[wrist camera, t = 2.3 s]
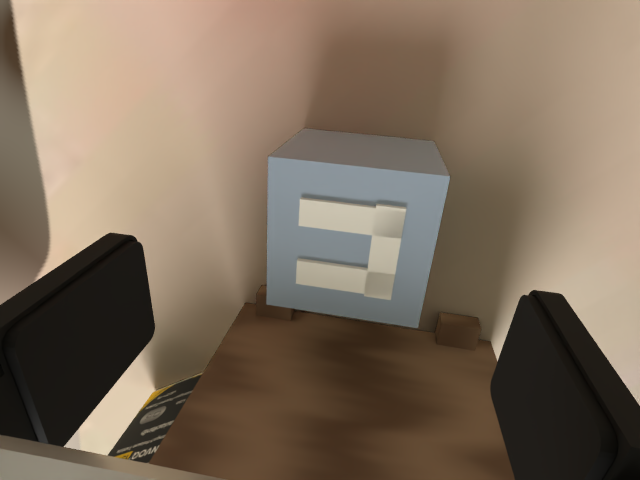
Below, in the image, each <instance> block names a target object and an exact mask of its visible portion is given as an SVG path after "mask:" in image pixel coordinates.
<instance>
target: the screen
mask: <svg viewBox="0 0 640 480" xmlns="http://www.w3.org/2000/svg"><path fill="white" fill-rule="evenodd" d="M266 300H267V286H264V285H262V286H261V287H260V289H259V291H258V293H257V294H256V304H250V303H245V304H244V306H243V308H242V309H241V311H240V313H239V314H238V316H237V318H236V319H235V321H234V322H233V324H232V326H231V327H230V329H229V331H228V332H227V334H226V336H225V337H224V339H223V341H222V342H221V344H220V346H219V347H218V349H217V351H216V352H215V354H214V356H213V357H212V359H211V361H210V362H209V364H208V366H207V367H206V369H205V371H204V372H203V374H202V376H201V377H200V379H199V381H198V382H197V384H196V385H195V387H194V389H193V390H192V392H191V394H190V395H189V397H188V399H187V400H186V402H185V404H184V405H183V407H182V409H181V410H180V412H179V414H178V415H177V417H176V419H175V420H174V422H173V424H172V425H171V427H170V429H169V430H168V432H167V434H166V435H165V437H164V439H163V440H162V442H161V444H160V445H159V447H158V449H157V450H156V452H155V453H154V455H153V457H152V458H151V460H150V462H149V463H148V464H152V465H157V466H162V467H167V468H172V469H177V470H182V471H187V472H192V473H197V474H201V475H206V476H211V477H216V478H221V479H226V480H515V478H514V474H513V471H512V467H511V464H510V460H509V457H508V454H507V450H506V447H505V443H504V440H503V436H502V433H501V429H500V426H499V422H498V419H497V415H496V412H495V408H494V405H493V402H492V398H491V393H490V384H491V379H492V376H493V374H494V371H495V368H496V365H497V359H496V356H495V353H494V350H493V347H492V344H491V342H489V341H483V340H479V336H480V333H481V330H482V329H481V326H480V323H479V320H478V318H475V317H468V316H461V315H455V314H448V313H442V312H440V314H439V318H438V322H437V326H436V330H435V333H433V332H426V331H420V330H414V329H407V328H401V327H395V326H388V325H382V324H376V323H369V322H363V321H357V320H351V319H344V318H338V317H332V316H325V315H319V314H313V313H306V312H300V311H295V309H292V308H286V307H280V306H273V305H267V304H266Z"/></svg>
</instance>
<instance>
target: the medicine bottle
mask: <svg viewBox="0 0 640 480" xmlns="http://www.w3.org/2000/svg"><path fill="white" fill-rule="evenodd" d="M202 374H203V373H200V374H197V375H195V376H192V377H190V378H187V379H185V380H182V381H179V382H177V383H174V384H172V385H169V386H166V387H164V388H161V389H159V390H156V391H155V392H153V393H152V394H151V396H150V397H149V399H148V400H147V401H146V403H145V404H144V406H143V407H142V408H141V410H140V411H139V412H138V414H137V415H136V417H135V418H134V419H133V421H132V422H131V424H130V425H129V426H128V428H127V429H126V431H125V432H124V433H123V435H122V436H121V438H120V439H119V440H118V442H117V443H116V445H115V446H114V447H113V449H112V450H111V451H110V453H109V454H108V456H112V457H117V458H122V459H127V460H132V461H137V462H142V463H147V464H148V463H149V462H150V460H151V458H152V457H153V455H154V453H155V452H156V450H157V449H158V447H159V445H160V444H161V442H162V440H163V439H164V437H165V435H166V434H167V432H168V430H169V429H170V427H171V425H172V424H173V422H174V420H175V419H176V417H177V415H178V414H179V412H180V410H181V409H182V407H183V405H184V404H185V402H186V400H187V399H188V397H189V395H190V394H191V392H192V390H193V389H194V387H195V385H196V384H197V382H198V381H199V379H200V377H201V376H202Z"/></svg>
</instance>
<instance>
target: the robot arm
mask: <svg viewBox="0 0 640 480" xmlns="http://www.w3.org/2000/svg"><path fill="white" fill-rule="evenodd" d="M154 331H155V323H154V316H153V310H152V303H151V297H150V290H149V284H148V277H147V271H146V264H145V257H144V251H143V246H142V244H141V243H140V242H137V239H136V238H135V237H134V236H132V235H124V234H117V233H109V234H106V235H105V236H103V237H102V238H100V239H99V240H97V241H96V242H94V243H93V244H91V245H90V246H88V247H87V248H85V249H84V250H82V251H81V252H79V253H78V254H76V255H75V256H73V257H72V258H70V259H69V260H67V261H66V262H64V263H63V264H61V265H60V266H58V267H57V268H55V269H54V270H52V271H51V272H49V273H48V274H46V275H45V276H43V277H42V278H40V279H39V280H37V281H36V282H34V283H33V284H31V285H30V286H28V287H27V288H25V289H24V290H22V291H21V292H19V293H18V294H16V295H15V296H13V297H12V298H10V299H9V300H7V301H6V302H4V303H3V304H1V305H0V480H226V479H221V478H216V477H211V476H206V475H201V474H197V473H192V472H187V471H182V470H177V469H172V468H167V467H162V466H157V465H152V464H147V463H142V462H137V461H132V460H127V459H122V458H117V457H112V456H106V455H101V454H96V453H91V452H86V451H81V450H76V449H71V448H66V447H64V445H65V444H66V443H67V442H68V441H69V440H70V438H71V437H72V436H73V435H74V433H75V432H76V431H77V430H78V429H79V427H80V426H81V425H82V424H83V422H84V421H85V420H86V419H87V417H88V416H89V415H90V414H91V413H92V411H93V410H94V409H95V408H96V406H97V405H98V404H99V403H100V402H101V400H102V399H103V398H104V397H105V395H106V394H107V393H108V392H109V390H110V389H111V388H112V387H113V386H114V384H115V383H116V382H117V381H118V379H119V378H120V377H121V376H122V374H123V373H124V372H125V371H126V370H127V368H128V367H129V366H130V365H131V363H132V362H133V361H134V360H135V359H136V357H137V356H138V355H139V354H140V352H141V351H142V350H143V349H144V347H145V346H146V345H147V344H148V343H149V341H150V340H151V339H152V337H153V334H154ZM490 393H491V398H492V402H493V405H494V408H495V412H496V415H497V419H498V422H499V426H500V429H501V433H502V436H503V440H504V443H505V447H506V450H507V454H508V457H509V460H510V464H511V467H512V471H513V474H514V478H515V480H640V406H639V404H638V403H637V401H636V400H635V398H634V397H633V396H632V394H631V393H630V391H629V390H628V388H627V387H626V385H625V384H624V383H623V381H622V380H621V378H620V377H619V375H618V374H617V373H616V371H615V370H614V368H613V367H612V365H611V364H610V362H609V361H608V360H607V358H606V357H605V355H604V354H603V352H602V351H601V349H600V348H599V347H598V345H597V344H596V342H595V341H594V339H593V338H592V337H591V335H590V334H589V332H588V331H587V329H586V328H585V326H584V325H583V324H582V322H581V321H580V319H579V318H578V316H577V315H576V313H575V312H574V311H573V309H572V308H571V306H570V305H569V303H568V302H567V300H566V299H565V298H564V296H563V295H562V294H559V293H552V292H545V291H537V290H533V291H531V292H530V293H529V295H523V296H522V297H521V298H520V300H519V303H518V305H517V308H516V311H515V314H514V317H513V320H512V322H511V325H510V328H509V331H508V334H507V337H506V339H505V342H504V345H503V348H502V351H501V354H500V357H499V359H498V362H497V365H496V368H495V371H494V374H493V376H492V379H491V384H490Z"/></svg>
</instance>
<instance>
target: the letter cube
mask: <svg viewBox="0 0 640 480" xmlns="http://www.w3.org/2000/svg"><path fill="white" fill-rule="evenodd" d="M449 181H450V175H449V172H448V170H447V168H446V166H445V164H444V162H443V159H442V157H441V155H440V153H439V151H438V149H437V147H436V144H435V142H434V141H429V140H419V139H409V138H399V137H389V136H378V135H368V134H358V133H348V132H338V131H328V130H318V129H308V128H304V129H302V130H301V131H300V132H298V133H297V134H296V135H295V136H293V137H292V138H291V139H290V140H288V141H287V142H286V143H284V144H283V145H282V146H281V147H279V148H278V149H277V150H276V151H274V152H273V153H272V154H271V155H269V156H268V206H267V300H266V304H267V305H273V306H280V307H286V308H292V309H299V310H305V311H311V312H318V313H324V314H330V315H337V316H343V317H350V318H356V319H362V320H369V321H375V322H381V323H388V324H394V325H400V326H407V327H413V328H418V325H419V320H420V316H421V311H422V306H423V302H424V297H425V292H426V288H427V283H428V278H429V274H430V269H431V264H432V260H433V255H434V250H435V246H436V241H437V237H438V232H439V227H440V223H441V218H442V213H443V209H444V204H445V199H446V195H447V190H448V185H449Z"/></svg>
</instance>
